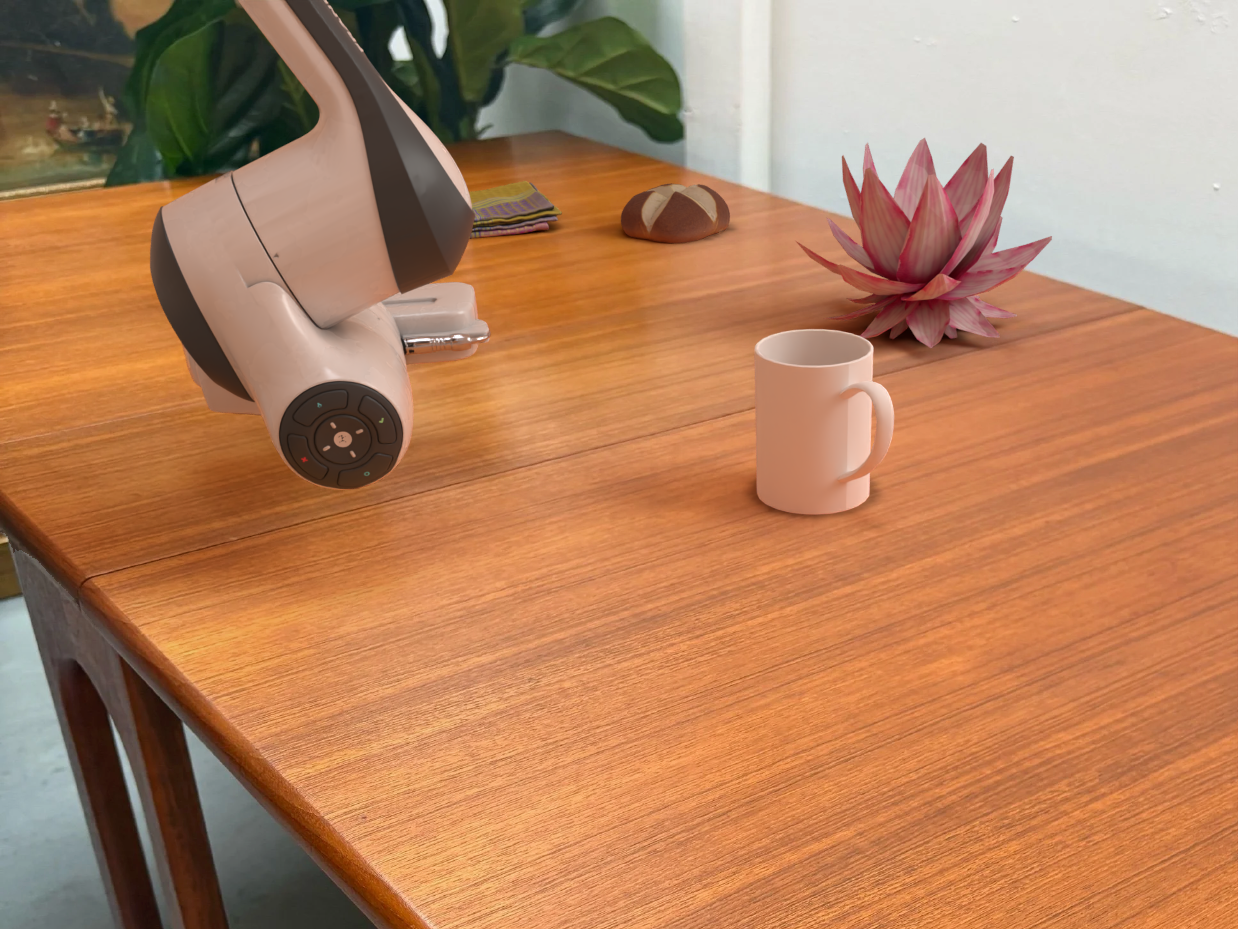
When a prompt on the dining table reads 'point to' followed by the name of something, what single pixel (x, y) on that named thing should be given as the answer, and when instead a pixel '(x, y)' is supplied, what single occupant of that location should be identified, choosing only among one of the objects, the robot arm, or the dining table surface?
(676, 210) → the bread
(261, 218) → the robot arm
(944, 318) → the decorative flower
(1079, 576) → the dining table surface
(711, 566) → the dining table surface
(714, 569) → the dining table surface
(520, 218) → the dish towel
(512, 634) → the dining table surface
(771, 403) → the mug
